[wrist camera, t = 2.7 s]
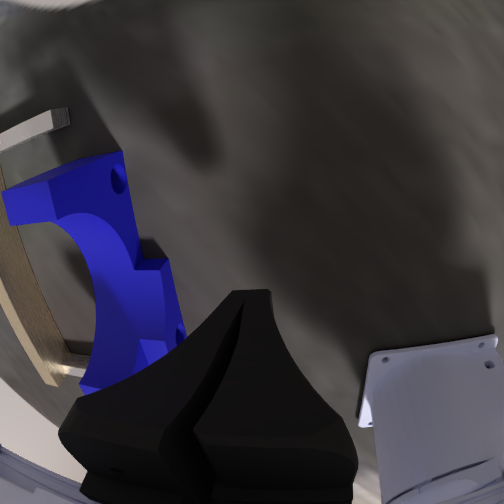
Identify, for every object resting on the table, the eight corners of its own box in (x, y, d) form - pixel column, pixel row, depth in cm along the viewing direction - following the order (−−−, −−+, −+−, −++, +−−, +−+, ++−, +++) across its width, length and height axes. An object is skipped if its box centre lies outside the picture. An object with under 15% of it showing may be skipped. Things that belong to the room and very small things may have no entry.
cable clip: (189, 341, 20) (159, 416, 14) (128, 337, 20) (89, 401, 15) (150, 145, 15) (78, 174, 9) (78, 158, 15) (1, 192, 10)
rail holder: (67, 107, 14) (30, 112, 11) (147, 371, 21) (132, 401, 19) (-16, 146, 15) (-48, 157, 12) (63, 359, 23) (45, 383, 20)
